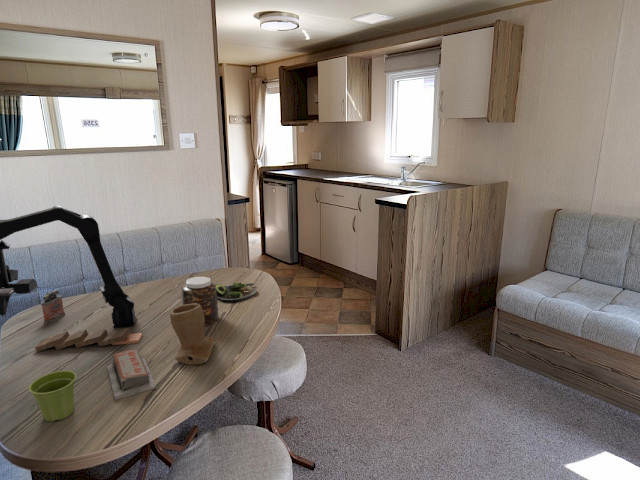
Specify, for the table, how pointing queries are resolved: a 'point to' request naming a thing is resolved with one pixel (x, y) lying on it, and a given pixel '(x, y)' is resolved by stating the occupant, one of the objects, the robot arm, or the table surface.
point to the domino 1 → (52, 341)
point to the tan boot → (191, 334)
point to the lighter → (52, 307)
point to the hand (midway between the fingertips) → (3, 314)
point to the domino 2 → (73, 339)
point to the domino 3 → (92, 338)
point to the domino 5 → (130, 339)
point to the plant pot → (55, 394)
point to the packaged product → (129, 374)
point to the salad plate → (233, 292)
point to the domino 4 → (114, 337)
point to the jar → (202, 297)
